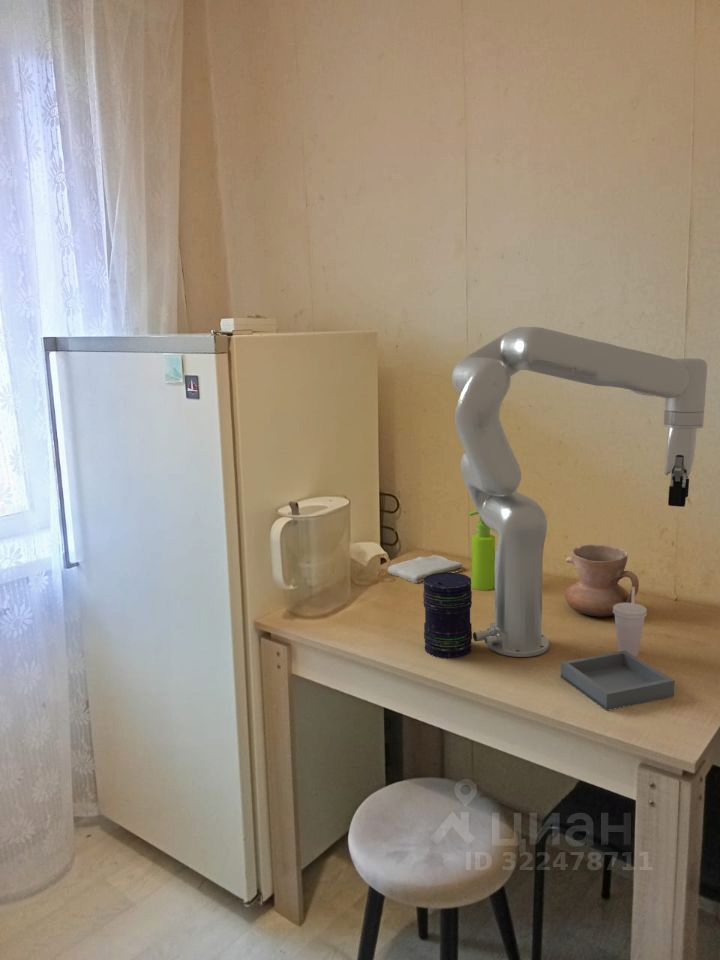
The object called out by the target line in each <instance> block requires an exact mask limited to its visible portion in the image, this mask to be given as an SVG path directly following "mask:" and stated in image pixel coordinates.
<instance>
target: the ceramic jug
mask: <svg viewBox="0 0 720 960" xmlns="http://www.w3.org/2000/svg"><path fill="white" fill-rule="evenodd" d="M628 557H629V554H628V552H627V551H626V550H625V549H623V548H620V547H617V546H614V545H608V544H607V545H606V544H584V545H583V544H582V545H579V546H578V547H577V546H575V547H574V548H573V549H571V556H568V557H566V559H565V562H566V563H568V564H572V565H573V566H574V567H575V570H576V574H577V577H578V579H579V581H577V582H575V583H574V584H572V585H570V586H568V587H567V589H566V592H565V594H564V595H565V600H566V603H567V605H568V606H569V607H570V608H571V609H573V610H574V611H576V612H578V613H580V614H582V615H586V616H591V617H602V618H603V617H612V616H613V617H615V614H614V613H613V606H614V605H615V604H618V603H631V599H632V587H635V597H636V596H637V593H638V592H639V587H640V583H639V579H638V576H637V575H636V574H635V573H634V571H633V572H632V571H630V570H625V569H626V565H627V562H628ZM623 578H628V579H630V581H631V590H630V592H628V590H627V589H626V588H624V586H621V585H620V584H619V581H620V580H621V579H623Z"/></svg>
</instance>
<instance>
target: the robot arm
mask: <svg viewBox="0 0 720 960" xmlns="http://www.w3.org/2000/svg"><path fill="white" fill-rule="evenodd" d="M520 371H528V372H533V373H537V374H542V375H546V376H550V377H556V378H560V379H564V380H569V381H573V382H576V383H580V384H587V385H591V386H596V387H597V386H598V387H609V388H610V387H611V388H619V389H625V390H629V391H631V392H633V393H635V394H638V395H641V396H648V397H656V398H657V397H658V398H662V399H665V400H664V413H663V427H665V428H668V432H667V437H666V438H667V439H666V450H665V451H666V452H665V463H664V474H665V476H668V475H670V474H671V476H670V482H669V483H670V484H669V487H668V499H667V500H668V502H667V504H668V507H669V506H671V507H677V508H679V507H682V508H684V507H685V506H686V499H687V498H688V497H689V489H690V478H689V477H690V475H691V473H692V469H693V464H694V460H695V459H694V458H695V451H696V442H697V429H703V428H704V421H705V420H704V419H705V405H706V391H707V390H706V389H707V378H708V377H707V376H708V364H707V362H706V360H704V359H703V358H691V357H690V358H687V357H686V358H685V357H684V358H671V357H667V356H663V355H658V354H654V353H650V352H646V351H641V350H636V349H631V348H627V347H623V346H618V345H616V344H615V345H614V344H611V343H607V342H602V341H598V340H594V339H589V338H585V337H581V336H577V335H572V334H569V333H564V332H561V331H556V330H553V329H549V328H544V327H539V326H520V327H519V326H518V327H516V328H515V327H514V328H512V329H510V330H508V331H506V332H504V333H503V334H501V335H499V336H498V337H496V338H494V339H493V340H491V341H490V342H488V343H487V344H485V345H483V346H481V347H480V348H478V349H476V350H475V351H472V352H471V353H470V354H468V355H467V356H464V357H463V358H462V359H461V360H460V361H459V362H458V363H457V364H456V366H454V368H453V371H452V375H451V379H452V380H451V383H452V385H453V388H454V389H455V391H456V393H458V394H459V397H458V400H457V404H456V407H455V413H454V424H455V429H456V433H457V437H458V439H459V442H460V444H461V447H462V449H463V451H464V453H463V454H462V457H461V461H460V473H461V478H462V480H463V482H464V483H463V484H464V485H465V486H466V487H465V488H466V489H467V491H468V494H469V495H470V497H471V500H472V503H473V505H474V506H475V508H476V509H475V510H477V511H478V513H479V514H478V515H479V517H480V516H481V518H482V520H483V521H484V523H485V524H486V525H487V526H488V527H489V528H490V530H492V531H493V532H495V533H496V534H497V536H498V539H497V540H498V541H497V544H496V545H497V547H496V548H495V588H494V622H492V623H491V622H490V625H489V628H486V630H480V631H474V632H472V639H473V641H474V642H482V641H484V643H485V644H486V645H487V646H488V647H489V649H490V650H492V651H493V652H495V653H497V654H499V655H503V656H506V657H514V658H530V657H536V656H539V655H543V654H544V653H546V652H547V651H548V650H549V648H550V640H549V638H548V637H547V636H546V635H544V634H543V633H542V631H543V630H542V623H543V619H542V618H543V559H544V548H545V541H546V537H547V536H546V535H547V532H548V519H547V515H546V512H545V511H544V508H542V506H541V505H540V504H539V503H538V502H537V501H535V500H534V499H532V498H531V497H529V496H526V495H524V494H522V493H520V492H518V488H519V486H520V484H521V481H522V472H521V467H520V464H519V462H518V460H517V458H516V456H515V454H514V451H513V450H512V446H511V445H510V443H509V440H508V438H507V436H506V434H505V431H504V429H503V426H502V422H501V419H500V418H501V417H500V410H501V406H502V403H503V401H504V399H505V397H506V396H507V394H508V392H509V389H510V388H511V383H512V382H511V381H512V379H511V377H512V376H514V375H515V374H517V373H518V372H520Z"/></svg>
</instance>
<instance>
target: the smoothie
mask: <svg viewBox="0 0 720 960" xmlns="http://www.w3.org/2000/svg"><path fill="white" fill-rule="evenodd" d="M631 589H632V599H631V603H618V604H615V605H614V606H613V613H614V614H615V615H614V621H615V622H614V623H615V632H616V642H617V643H616V644H617V652H619V651H626V652H628V653H629V654H631V655H633V656H634V657H636V658H637V657H638V656H639V650H640V645H641V639H642V633H643V628H644V623H645V617H646V616H647V615H648V613H647V611H648V610H647V608H646V607H645V606H643V604H638V603H635V598H636V596H635V587H632V586H631Z"/></svg>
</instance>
